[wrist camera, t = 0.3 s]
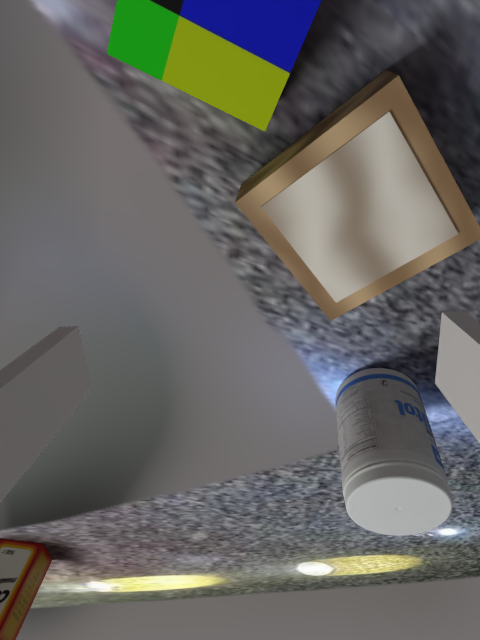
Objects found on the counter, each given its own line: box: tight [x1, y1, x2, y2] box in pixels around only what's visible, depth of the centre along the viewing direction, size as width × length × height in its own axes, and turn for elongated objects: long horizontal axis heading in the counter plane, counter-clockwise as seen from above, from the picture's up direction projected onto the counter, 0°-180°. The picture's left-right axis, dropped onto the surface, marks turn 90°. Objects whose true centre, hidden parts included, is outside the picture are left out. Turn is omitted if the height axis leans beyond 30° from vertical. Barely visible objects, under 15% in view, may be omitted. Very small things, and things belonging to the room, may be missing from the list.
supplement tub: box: [335, 368, 452, 536], centre depth 43 cm, size 10×10×15 cm
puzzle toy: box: [107, 0, 322, 131], centre depth 26 cm, size 10×10×10 cm
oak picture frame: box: [235, 70, 480, 321], centre depth 35 cm, size 14×14×5 cm
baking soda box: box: [0, 539, 52, 640], centre depth 77 cm, size 10×6×16 cm
